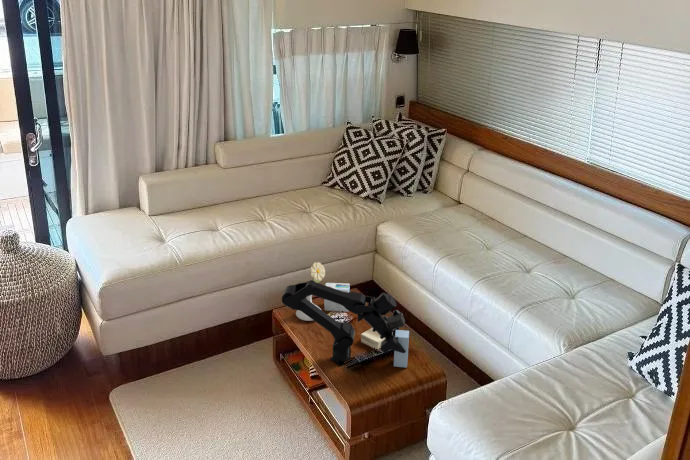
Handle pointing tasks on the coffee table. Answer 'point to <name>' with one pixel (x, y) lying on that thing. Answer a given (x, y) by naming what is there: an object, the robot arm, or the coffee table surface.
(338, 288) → the light bulb box
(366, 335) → the maple block
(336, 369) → the coffee table surface
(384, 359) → the coffee table surface
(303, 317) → the flower in vase
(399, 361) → the blue pillar
